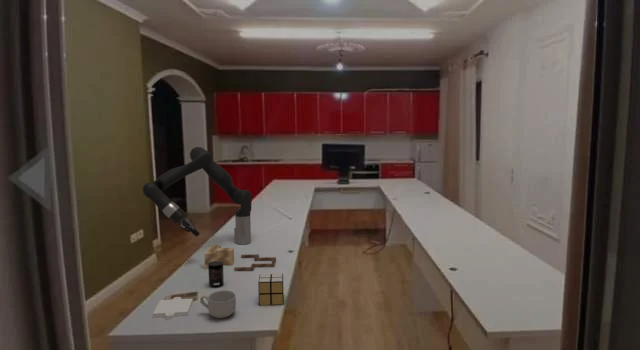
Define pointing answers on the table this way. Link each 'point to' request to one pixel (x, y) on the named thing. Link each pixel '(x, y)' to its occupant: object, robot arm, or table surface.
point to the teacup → (220, 303)
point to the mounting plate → (173, 308)
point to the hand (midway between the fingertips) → (198, 235)
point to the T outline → (256, 258)
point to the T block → (219, 255)
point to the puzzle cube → (271, 289)
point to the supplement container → (216, 274)
